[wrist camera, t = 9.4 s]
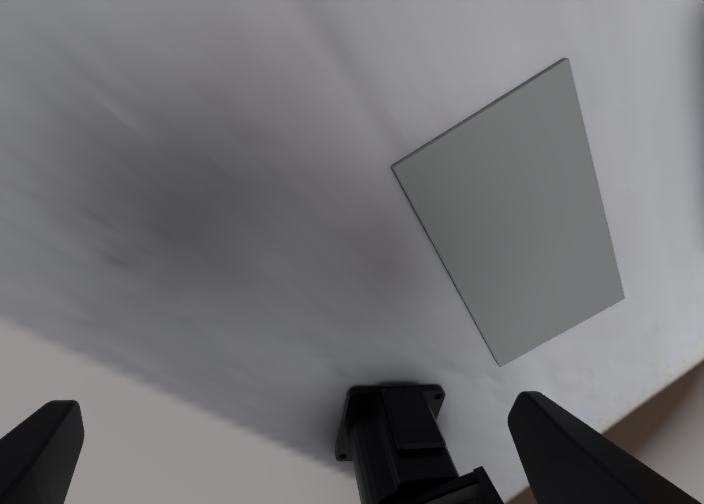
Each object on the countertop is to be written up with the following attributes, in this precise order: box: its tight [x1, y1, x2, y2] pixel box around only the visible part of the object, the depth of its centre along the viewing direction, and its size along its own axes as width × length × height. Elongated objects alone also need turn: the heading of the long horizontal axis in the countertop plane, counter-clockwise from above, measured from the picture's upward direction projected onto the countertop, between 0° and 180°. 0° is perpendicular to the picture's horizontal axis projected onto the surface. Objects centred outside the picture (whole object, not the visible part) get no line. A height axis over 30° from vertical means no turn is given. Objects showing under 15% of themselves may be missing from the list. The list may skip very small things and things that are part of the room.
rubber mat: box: [391, 58, 625, 367], centre depth 22 cm, size 16×9×1 cm, turn 30°
